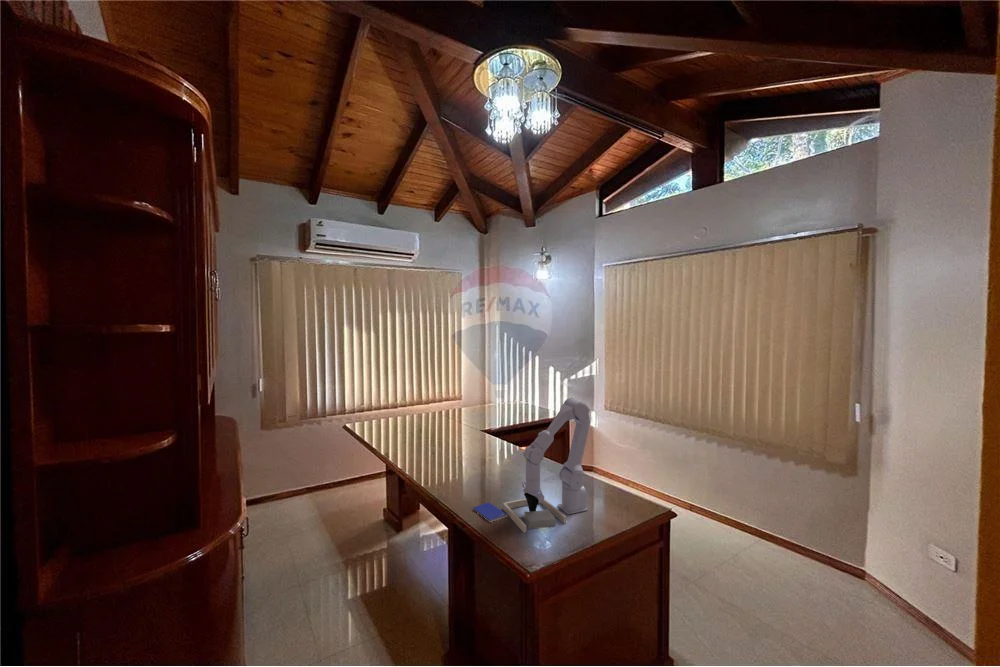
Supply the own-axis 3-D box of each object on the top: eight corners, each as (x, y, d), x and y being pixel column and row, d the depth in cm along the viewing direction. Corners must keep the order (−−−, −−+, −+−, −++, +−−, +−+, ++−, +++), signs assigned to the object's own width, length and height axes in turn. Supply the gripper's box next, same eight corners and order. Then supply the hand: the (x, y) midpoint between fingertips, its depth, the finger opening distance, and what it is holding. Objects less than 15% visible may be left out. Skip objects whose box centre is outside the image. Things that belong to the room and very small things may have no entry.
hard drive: (507, 514, 146) (489, 501, 156) (490, 520, 141) (472, 507, 151) (507, 518, 146) (489, 505, 156) (490, 524, 141) (472, 511, 151)
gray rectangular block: (549, 517, 146) (549, 509, 146) (555, 526, 139) (555, 518, 139) (524, 519, 144) (524, 512, 144) (529, 529, 137) (529, 521, 137)
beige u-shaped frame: (540, 501, 158) (540, 495, 158) (566, 523, 141) (566, 516, 141) (502, 509, 152) (502, 502, 151) (524, 532, 134) (524, 525, 134)
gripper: (515, 472, 152) (515, 505, 152) (532, 486, 138) (532, 523, 139) (531, 469, 154) (530, 502, 155) (549, 483, 141) (548, 519, 141)
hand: (532, 512), depth 147 cm, fingers closed
